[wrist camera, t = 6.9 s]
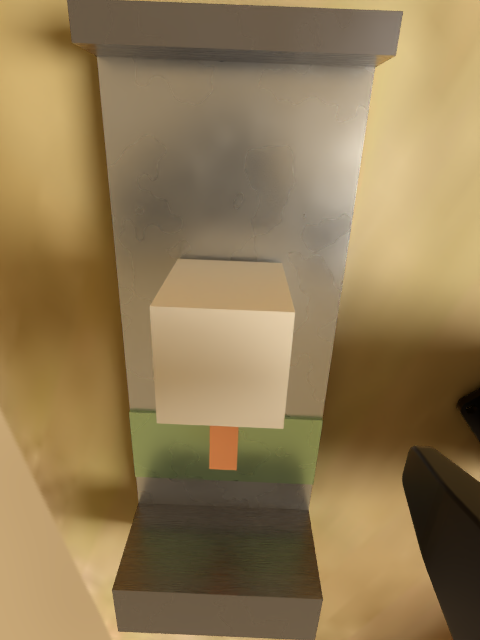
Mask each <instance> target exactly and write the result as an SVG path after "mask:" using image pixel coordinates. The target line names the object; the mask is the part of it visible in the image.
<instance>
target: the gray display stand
mask: <svg viewBox="0 0 480 640" xmlns="http://www.w3.org/2000/svg"><path fill="white" fill-rule="evenodd" d="M67 4H68V12H69V21H70V30H71V39H72V43H73V44H75V45H77V46H79V47H81V48H82V49H84V50H86V51H88V52H90V53H92V54H93V55H95V56H97V63H98V74H99V85H100V95H101V106H102V117H103V127H104V138H105V149H106V159H107V170H108V181H109V192H110V202H111V213H112V224H113V234H114V245H115V256H116V266H117V277H118V288H119V299H120V309H121V320H122V331H123V341H124V352H125V363H126V373H127V384H128V395H129V406H130V411H129V418H130V428H131V439H132V449H133V460H134V470H135V477H136V480H137V491H138V502H139V503H138V506H137V510H136V513H135V516H134V520H133V523H132V526H131V529H130V533H129V536H128V539H127V543H126V546H125V549H124V552H123V556H122V559H121V562H120V566H119V569H118V572H117V575H116V579H115V582H114V585H113V589H112V593H113V599H114V606H115V613H116V619H117V626H118V631H119V632H141V633H164V634H186V635H208V636H230V637H252V638H274V639H296V640H315V637H316V632H317V627H318V622H319V616H320V611H321V606H322V601H323V597H322V591H321V585H320V579H319V572H318V566H317V560H316V554H315V547H314V541H313V535H312V529H311V522H310V516H309V504H310V497H311V491H312V485H313V483H314V476H315V470H316V463H317V457H318V450H319V443H320V437H321V430H322V424H323V419H322V418H323V411H324V404H325V398H326V391H327V384H328V378H329V371H330V364H331V358H332V351H333V344H334V338H335V331H336V324H337V318H338V311H339V304H340V298H341V291H342V284H343V278H344V271H345V264H346V258H347V251H348V244H349V238H350V231H351V224H352V218H353V211H354V204H355V198H356V191H357V184H358V178H359V171H360V164H361V158H362V151H363V144H364V138H365V131H366V124H367V118H368V111H369V104H370V98H371V91H372V84H373V78H374V71H375V67H377V66H378V65H380V64H382V63H384V62H385V61H387V60H389V59H391V58H392V57H394V56H396V51H397V45H398V39H399V33H400V27H401V21H402V15H403V11H381V10H355V9H330V8H304V7H279V6H253V5H227V4H202V3H176V2H151V1H125V0H67ZM177 259H197V260H221V261H245V262H269V263H282V264H283V268H284V272H285V276H286V280H287V283H288V287H289V291H290V295H291V298H292V302H293V306H294V310H295V320H294V329H293V339H292V349H291V359H290V369H289V379H288V388H287V398H286V408H285V418H284V428H283V429H275V428H252V427H239V428H238V451H237V470H218V469H209V451H210V426H206V425H183V424H159V423H157V419H156V403H155V386H154V370H153V353H152V337H151V320H150V305H151V303H152V301H153V300H154V298H155V296H156V295H157V293H158V291H159V290H160V288H161V286H162V285H163V283H164V281H165V280H166V278H167V276H168V275H169V273H170V271H171V270H172V268H173V266H174V265H175V263H176V261H177Z"/></svg>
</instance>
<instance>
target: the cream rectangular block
mask: <svg viewBox="0 0 480 640" xmlns="http://www.w3.org/2000/svg"><path fill="white" fill-rule="evenodd" d="M150 320H151V337H152V353H153V370H154V386H155V403H156V419H157V423H159V424H183V425H206V426H210V451H209V469H218V470H237V451H238V428H239V427H252V428H275V429H283V428H284V418H285V408H286V398H287V388H288V379H289V369H290V359H291V349H292V339H293V329H294V320H295V310H294V306H293V302H292V298H291V295H290V291H289V287H288V283H287V280H286V276H285V272H284V268H283V264H282V263H269V262H245V261H221V260H197V259H177V261H176V263H175V265H174V266H173V268H172V270H171V271H170V273H169V275H168V276H167V278H166V280H165V281H164V283H163V285H162V286H161V288H160V290H159V291H158V293H157V295H156V296H155V298H154V300H153V301H152V303H151V305H150Z"/></svg>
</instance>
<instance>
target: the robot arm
mask: <svg viewBox="0 0 480 640" xmlns="http://www.w3.org/2000/svg"><path fill="white" fill-rule="evenodd" d="M470 405H472V406H471V407H470V408H468V409H467V407H468V406H470ZM457 409H458V411H459V412H460V414H461V415H462V417H463V418H464V420H465V421H466V423H467V424H468V426H469V427H470V429H471V430H472V432H473V433H474V434H475V436H476V437H477V439H478V440H479V442H480V388H479V389H478V390H476V391H474V392H472V393H470V394H468V395H466V396H464V397H463V398H461V399H460V400H459V401H458V403H457ZM402 482H403V487H404V491H405V495H406V499H407V502H408V506H409V510H410V514H411V517H412V521H413V525H414V529H415V532H416V536H417V540H418V544H419V547H420V551H421V554H422V558H423V560H424V563H425V566H426V569H427V572H428V574H429V577H430V580H431V582H432V585H433V588H434V590H435V593H436V595H437V598H438V601H439V603H440V606H441V609H442V611H443V614H444V617H445V619H446V622H447V625H448V627H449V630H450V632H451V635H452V638H453V640H480V482H479V481H477V480H476V479H475V478H473V477H472V476H471V475H469V474H468V473H467V472H465V471H464V470H463V469H461V468H460V467H458V466H457V465H456V464H454V463H453V462H452V461H450V460H449V459H448V458H446V457H445V456H444V455H442V454H441V453H440V452H438V451H437V450H436V449H434V448H433V447H430V446H412V447H411V448H410V450H409V453H408V456H407V460H406V464H405V467H404V471H403V476H402Z"/></svg>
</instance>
